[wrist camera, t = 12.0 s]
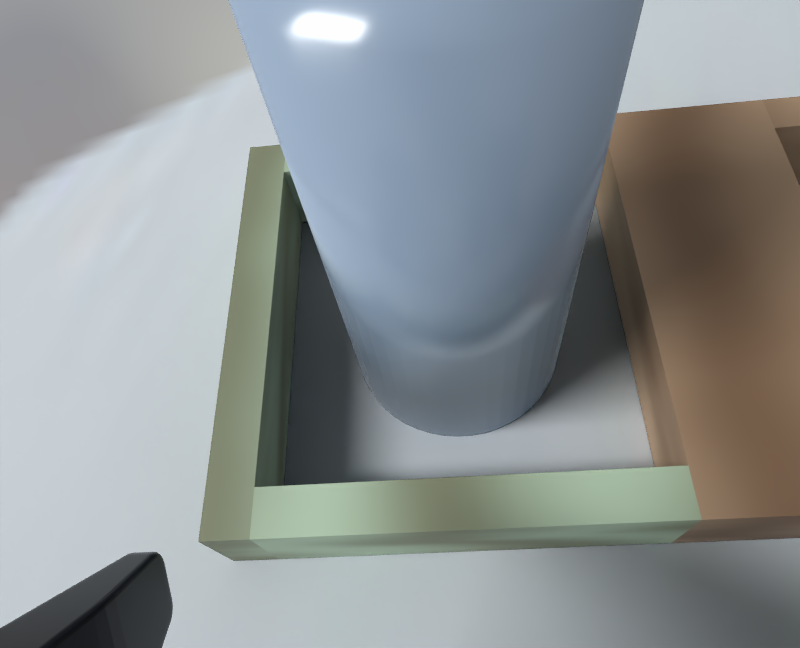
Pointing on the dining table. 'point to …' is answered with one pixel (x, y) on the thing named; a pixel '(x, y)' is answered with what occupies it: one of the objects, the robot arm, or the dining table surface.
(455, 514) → the caddy
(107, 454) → the dining table surface
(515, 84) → the canister
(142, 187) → the dining table surface
